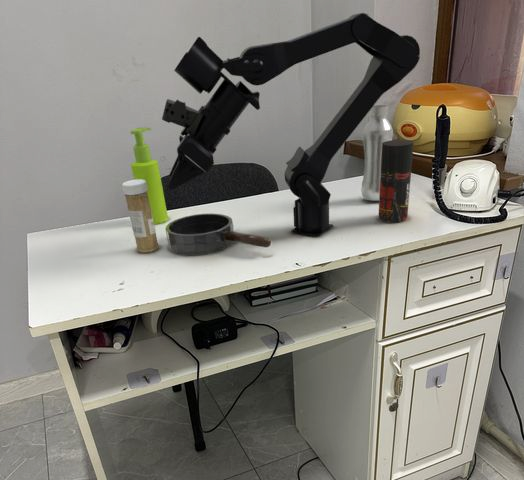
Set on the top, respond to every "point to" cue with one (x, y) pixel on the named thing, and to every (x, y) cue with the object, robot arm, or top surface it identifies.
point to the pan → (198, 234)
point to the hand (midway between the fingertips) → (170, 182)
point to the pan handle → (245, 238)
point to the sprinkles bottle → (140, 215)
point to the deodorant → (395, 180)
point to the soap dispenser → (149, 176)
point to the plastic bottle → (374, 150)
